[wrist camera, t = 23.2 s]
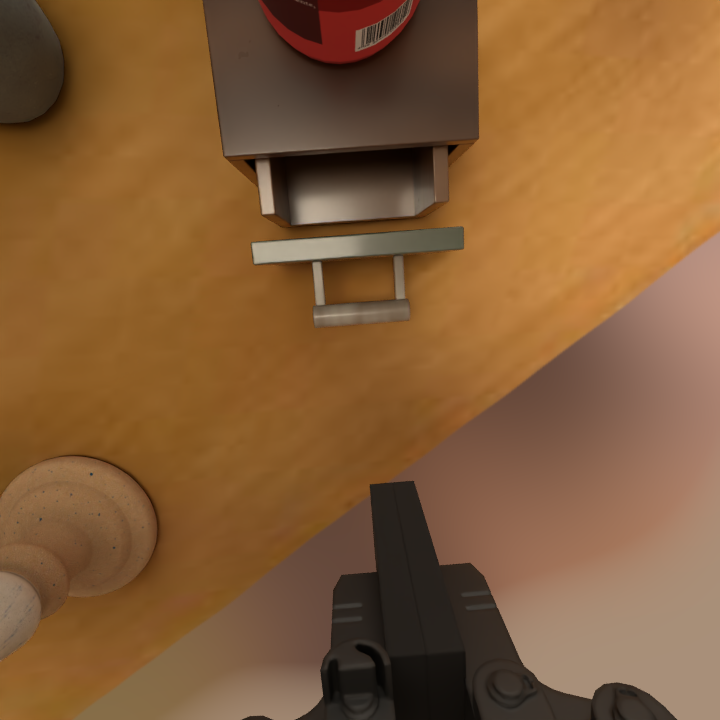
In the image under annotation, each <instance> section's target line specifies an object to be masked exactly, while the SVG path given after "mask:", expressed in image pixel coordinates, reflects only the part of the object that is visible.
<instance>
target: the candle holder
mask: <svg viewBox="0 0 720 720" xmlns="http://www.w3.org/2000/svg"><path fill="white" fill-rule="evenodd" d="M156 538H157V520H156V516H155V512H154V509H153V507H152V504H151V502H150V500H149V498H148V497H147V495H146V493H145V492H144V491H143V489H142V488H141V487H140V486H139V485H138V483H137V482H135V481H134V480H133V479H132V478H131V477H130V476H129V475H127V474H126V473H124V472H123V471H121V470H120V469H118V468H116V467H114V466H112V465H110V464H108V463H106V462H103V461H100V460H97V459H93V458H87V457H79V456H66V457H57V458H53V459H49V460H45V461H43V462H40V463H38V464H36V465H33V466H31V467H30V468H28V469H27V470H25V471H23V472H22V473H20V474H19V475H18V476H17V477H16V478H15V479H14V480H13V481H12V482H11V483H10V484H9V485H8V487H7V488H6V489H5V491H4V492H3V494H2V496H1V499H0V662H1V661H3V660H4V659H5V658H7V657H8V656H10V655H12V654H13V653H14V652H16V651H17V650H18V649H20V648H21V647H22V646H23V645H25V644H26V643H27V642H28V641H29V640H30V638H31V637H32V636H33V634H34V633H35V631H36V629H37V628H38V625H39V623H40V620H41V619H44V618H46V617H48V616H50V615H52V614H53V613H55V612H56V611H57V610H58V609H59V608H60V607H61V606H62V605H63V603H64V602H65V600H66V598H67V596H71V597H92V596H99V595H103V594H107V593H110V592H112V591H115V590H117V589H119V588H121V587H122V586H124V585H126V584H127V583H129V582H130V581H132V580H133V579H134V578H135V577H136V576H137V575H138V574H139V573H140V572H141V571H142V570H143V568H144V567H145V566H146V564H147V563H148V561H149V559H150V557H151V555H152V553H153V550H154V547H155V544H156Z"/></svg>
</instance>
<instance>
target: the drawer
mask: <svg viewBox="0 0 720 720" xmlns="http://www.w3.org/2000/svg"><path fill="white" fill-rule="evenodd" d="M255 167H256V175H257V183H258V192H259V200H260V209H261V215H262V216H264V217H265V218H267V219H269V220H270V221H272V222H274V223H276V224H277V225H279V226H280V227H293V226H307V225H320V224H334V223H347V222H361V221H374V220H388V219H401V218H415V217H424V216H426V215H428V214H429V213H431V212H433V211H434V210H436V209H438V208H439V207H441V206H443V205H444V204H446V203H448V202H449V177H448V145H441V146H427V147H413V148H398V149H384V150H370V151H356V152H342V153H328V154H314V155H300V156H286V157H272V158H258V159H255ZM462 249H464V228H463V227H462V226H460V227H447V228H434V229H420V230H407V231H393V232H380V233H366V234H353V235H340V236H326V237H313V238H299V239H286V240H272V241H259V242H251V250H252V258H253V264H254V265H283V264H296V263H310V262H312V270H313V280H314V291H315V301H316V306H313V319H314V326H315V328H321V327H334V326H347V325H360V324H373V323H385V322H398V321H409V320H410V304H409V300H408V299H405V281H404V261H403V255H416V254H429V253H439V252H447V251H454V250H462ZM389 256H393V272H394V290H395V299H394V300H381V301H369V302H356V303H343V304H330V305H325V304H326V300H325V289H324V278H323V267H322V262H323V261H336V260H349V259H363V258H376V257H389Z"/></svg>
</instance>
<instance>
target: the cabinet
mask: <svg viewBox="0 0 720 720" xmlns="http://www.w3.org/2000/svg"><path fill="white" fill-rule="evenodd" d="M203 7H204V14H205V22H206V29H207V37H208V44H209V52H210V59H211V67H212V74H213V82H214V89H215V97H216V104H217V112H218V119H219V127H220V134H221V142H222V149H223V156H224V157H225V158H226V159H227V160H228V161H229V162H230V163H231V164H232V165H233V166H235V167H236V168H237V169H238V170H239V171H240V172H241V173H242V174H244V175H245V176H246V177H247V178H248V179H249V180H250V181H251V182H253V183H254V184H255V185H256V186H257V187H258V183H257V175H256V167H255V159H258V158H272V157H286V156H300V155H314V154H328V153H342V152H356V151H370V150H384V149H398V148H413V147H427V146H441V145H448V167H449V166H451V165H452V164H453V163H454V162H455V161H456V160H457V159H458V158H459V157H460V156H461V155H462V154H463V153H464V152H465V151H467V150H468V149H469V148H470V147H471V146H472V145H473V144H474V143H475V142H476V141H477V140H478V139H479V102H478V15H477V0H420V1H419V3H418V5H417V7H416V9H415V11H414V14H413V16H412V17H411V19H410V20H409V21H408V23H407V24H406V26H405V27H404V28H403V30H402V31H401V32H400V33H399V34H398V35H397V36H396V37H395V38H394V39H393V40H392V41H391V42H390V43H389V44H388V45H387V46H385V47H384V48H383V49H381V50H380V51H378V52H377V53H375V54H374V55H372V56H370V57H368V58H365V59H363V60H360V61H357V62H353V63H346V64H332V63H324V62H321V61H318V60H315V59H312V58H310V57H308V56H306V55H304V54H303V53H301V52H299V51H298V50H296V49H295V48H294V47H292V46H291V45H290V44H289V43H288V42H287V41H286V40H285V39H283V38H282V37H281V36H280V35H279V34H278V33H277V31H276V30H275V29H274V27H273V26H272V25H271V23H270V22H269V21H268V19H267V17H266V15H265V13H264V11H263V9H262V7H261V5H260V3H259V1H258V0H203Z"/></svg>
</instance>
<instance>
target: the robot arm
mask: <svg viewBox="0 0 720 720" xmlns="http://www.w3.org/2000/svg"><path fill="white" fill-rule="evenodd" d="M370 494H371V506H372V520H373V532H374V533H373V534H374V547H375V559H376V570H377V572H372V573H360V574H348V575H341V577H340V579H339V581H338V582H337V584H336V586H335V588H334V590H333V610H332V611H333V612H332V632H331V649H330V651H329V652H328V653H327V655H326V656H325V657H324V660H323V663H322V667H321V670H320V671H321V680H322V688H323V697H322V699H321V700H320V702H319V703H318V704H317V705H316V706H315V707H314V708H313V709H312V710H311V711H310V712H309V713H307V714H306V715H303V716H302V717H300V718H298V719H296V720H677V719H676V718H675V717H674V716H673V715H672V714H671V713H670V712H669V711H668V710H667V709H666V708H665V707H664V706H663V705H662V704H661V703H659V702H658V701H657V700H656V699H655V698H653V697H652V696H651V695H650V694H648V693H646V692H644V691H642V690H640V689H638V688H636V687H634V686H631V685H627V684H622V683H610V684H604V685H602V686H601V687H600V688H598V689H597V690H596V691H595V693H594V696H593V699H587V698H583V697H579V696H574V695H570V694H566V693H563V692H560V691H556V690H553V689H551V688H549V687H548V686H546V685H544V684H542V683H541V682H539V681H538V680H537V678H536V677H535V675H534V674H533V673H532V672H531V671H529V670H528V669H527V668H526V667H524V665H523V663H522V662H521V660H520V658H519V656H518V653H517V651H516V649H515V646H514V644H513V642H512V640H511V637H510V635H509V633H508V630H507V628H506V626H505V624H504V621H503V619H502V617H501V615H500V612H499V610H498V608H497V607H496V603H495V601H494V599H493V596H492V595H491V591H490V589H489V587H488V585H487V582H486V580H485V578H484V576H483V575H482V574H481V573H480V572H479V571H478V570H477V569H476V568H475V567H474V566H473V565H472V564H471V563H465V564H453V565H440V566H439V562H438V559H437V556H436V553H435V549H434V546H433V543H432V539H431V536H430V533H429V530H428V526H427V523H426V520H425V516H424V514H423V510H422V507H421V503H420V500H419V497H418V493H417V490H416V487H415V484H414V481H406V482H394V483H382V484H370ZM242 720H272V719H270V718H267V717H265V716H250V717H247V718H245V719H242Z"/></svg>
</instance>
